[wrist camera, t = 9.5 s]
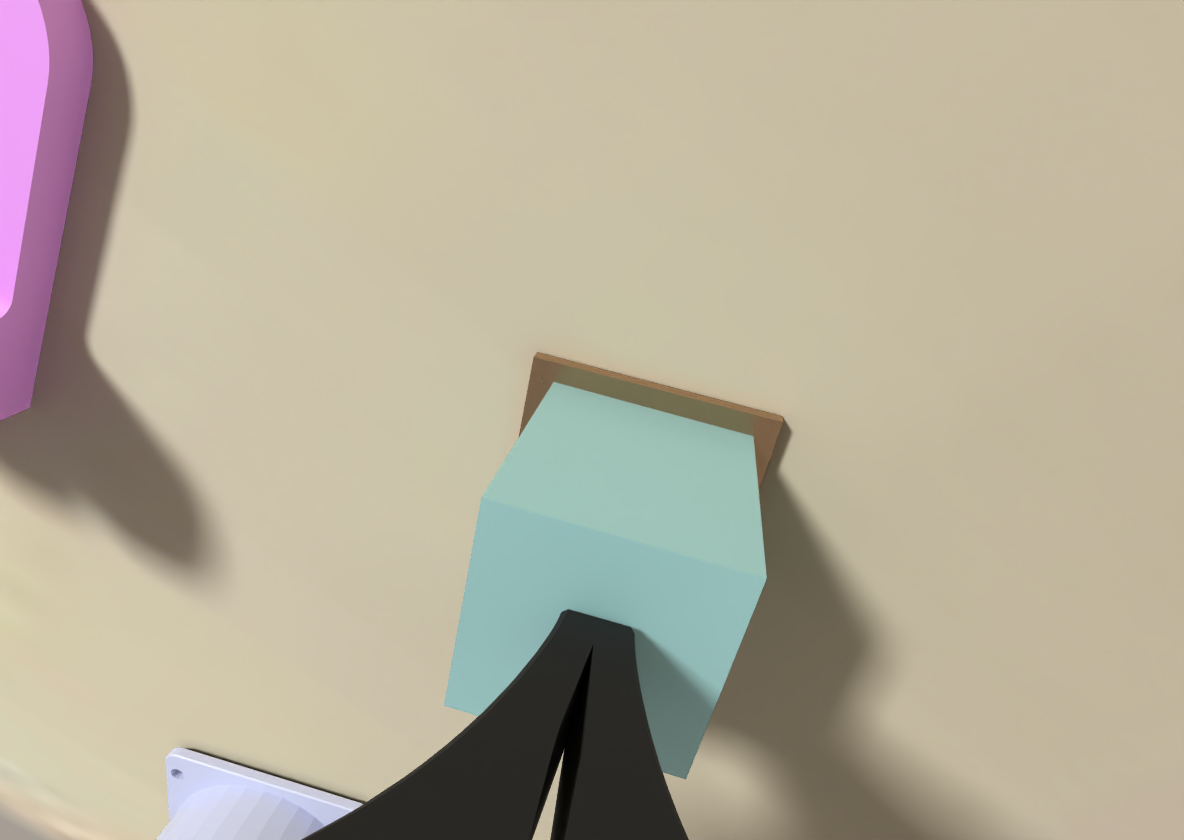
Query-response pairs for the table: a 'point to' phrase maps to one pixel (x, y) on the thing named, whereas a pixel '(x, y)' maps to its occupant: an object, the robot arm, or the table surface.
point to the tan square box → (654, 401)
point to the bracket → (36, 171)
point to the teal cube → (617, 555)
